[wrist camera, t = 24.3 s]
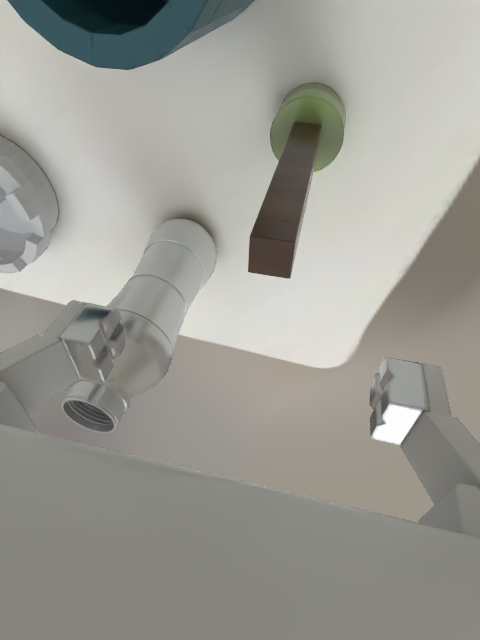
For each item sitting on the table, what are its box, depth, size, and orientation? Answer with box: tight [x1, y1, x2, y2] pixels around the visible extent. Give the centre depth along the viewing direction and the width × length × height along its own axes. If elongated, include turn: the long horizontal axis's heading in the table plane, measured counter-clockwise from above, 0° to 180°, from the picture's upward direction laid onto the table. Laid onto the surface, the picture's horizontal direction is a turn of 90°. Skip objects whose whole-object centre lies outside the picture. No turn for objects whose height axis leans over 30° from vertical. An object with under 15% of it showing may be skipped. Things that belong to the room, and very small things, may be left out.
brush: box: [248, 83, 345, 278], centre depth 22 cm, size 5×5×18 cm
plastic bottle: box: [61, 218, 216, 433], centre depth 30 cm, size 6×7×20 cm
